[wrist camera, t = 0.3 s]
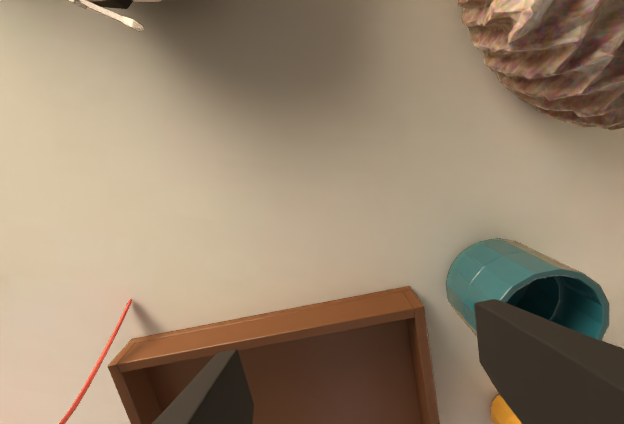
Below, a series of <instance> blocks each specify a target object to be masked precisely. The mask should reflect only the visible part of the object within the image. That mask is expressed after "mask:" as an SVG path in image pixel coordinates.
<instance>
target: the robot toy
mask: <svg viewBox="0 0 624 424" xmlns="http://www.w3.org/2000/svg"><path fill="white" fill-rule="evenodd" d="M69 1H71V2H72V3H74V4H76V5H78V6H80V7H82V8H85V9H86V8H87V7H88V8H91V9H93V10H95V11H97V12H100V13H102V14H104V15H106V16H109V17H111V18H113V19H115V20H118V21H120V22H122V23H124V24H125V25H127V26H129V27H131V28H133V29H135V30H137V31H139V32H140V31H142V30H143V29H144V28H143V26H142V25H141V24H139V23H138V22H136V21H134V20H132V19H130V18H128V17H126V16H124V17H123V16H120V15H118V14H116V13H114V12H111V11H109V10H107V9H104V8H102V7H109V8H121V9H127V8H128V7H129V6H130V5H131V4H132V2H133V1H139V2H160V1H161V0H69Z"/></svg>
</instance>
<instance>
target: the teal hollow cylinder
mask: <svg viewBox="0 0 624 424" xmlns="http://www.w3.org/2000/svg"><path fill="white" fill-rule="evenodd" d="M446 289H447V298H448V301H449V302H450V304H451V306H452V307H453V309H454V310H455V312H456V313H457V314H458V315H459V317H460V318H461V319H462V320H463V321H464V322H465V324H466V325H467V326H468V327H469V328H470V329H471V330H472V332H473V333H474V334H475V335H476V336H477V329H476V319H475V309H474V303H476V302H481V301H487V300H492V299H496V300H499V301H502V302H505V303H508V304H510V305H513V306H515V307H518V308H520V309H523V310H525V311H528V312H530V313H532V314H535V315H537V316H540V317H542V318H545V319H547V320H550V321H552V322H554V323H557V324H559V325H562V326H564V327H567V328H569V329H572V330H574V331H577V332H580V333H582V334H585V335H587V336H590V337H593V338H595V339H598V340H601V341H602V339H603V337H604V335H605V333H606V330H607V328H608V326H609V302H608V300H607V298H606V296H605V294H604V292H603V290H602V288H601V286H600V285H599V284H597V283H596V282H595V281H593V280H592V279H590V278H589V277H588V276H586V275H585V274H583V273H582V272H579V271H577V270H575V269H573V268H571V267H569V266H567V265H565V264H563V263H561V262H558V261H556V260H554V259H552V258H550V257H548V256H546V255H544V254H541V253H539V252H537V251H535V250H533V249H531V248H529V247H527V246H525V245H523V244H520V243H518V242H516V241H512V240H507V239H501V238H496V239H491V240H486V241H480V242H478V243H476V244H474V245H472V246H470V247H468V248H467V249H465V250H464V251H463V252H462V253H461V254H460V255H459V256H458V257H457V258H456V259H455V261H454V262H453V264H452V266H451V267H450V270H449V273H448V277H447V281H446Z"/></svg>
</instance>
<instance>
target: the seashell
mask: <svg viewBox="0 0 624 424" xmlns="http://www.w3.org/2000/svg"><path fill="white" fill-rule="evenodd" d="M458 5H459V6H462V7H464V8H463V15H462V22H463V23H464V25H465V26H466V27H469V28H470V37H471V40H472V42H473V45H474V46H475V47H477V48H478V49H481V50H482V53H483V57H484V63H485V64H486V65H487V66H488V67H489V68H490V69H491V70H492V71H495V73H496V75H497V77H498V79H499V81H500V82H501V83H502V84H503V85H504V86H506V87H507V88H508V89H510V90H513V91H514V93H515V95H516V96H517V97H518V98H520V99H521V100H523V101H525V102H527V103H530V104H532V105H534V106H535V108H536V109H537V110H538V111H540V112H542V113H544V114H545V115H548V116H550V117H553V118H556V119H559V120H562V121H565V122H568V123H571V124H574V125H577V126H581V127H601V128H605V129H609V130H615V129H619V128H624V0H459V1H458Z"/></svg>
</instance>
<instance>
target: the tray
mask: <svg viewBox="0 0 624 424" xmlns="http://www.w3.org/2000/svg"><path fill="white" fill-rule="evenodd" d="M234 349H238V353H239V356H240V359H241V363H242V366H243V369H244V373H245V376H246V379H247V383H248V386H249V389H250V392H251V396H252V399H253V402H254V411H253V422H252V424H440V423H439V415H438V407H437V400H436V392H435V385H434V377H433V370H432V362H431V354H430V347H429V339H428V332H427V324H426V317H425V309H424V306H423V304H422V303H421V301H420V300H419V299H418V297H417V296H416V294H415V293H414V292H413V290H412V289H411V287H410V286H407V287H402V288H397V289H391V290H386V291H381V292H376V293H370V294H365V295H360V296H355V297H349V298H344V299H339V300H334V301H328V302H323V303H318V304H313V305H307V306H302V307H297V308H292V309H286V310H281V311H276V312H271V313H265V314H260V315H255V316H250V317H244V318H239V319H234V320H229V321H224V322H218V323H213V324H208V325H203V326H197V327H192V328H187V329H182V330H176V331H171V332H166V333H161V334H155V335H150V336H145V337H140V338H134V339H131V340H130V341H129V343H128V344H127V345H126V346H125V347H124V348H123V349H122V350H121V352H120V353H119V354H118V355H117V356H116V357H115V358H114V359H113V361H112V362H111V363H110V364H109V365H108V368H109V371H110V373H111V376H112V378H113V381H114V383H115V386H116V388H117V390H118V393H119V395H120V398H121V400H122V403H123V405H124V408H125V410H126V413H127V415H128V417H129V420H130V422H131V424H152V423H153V422H154V421H155V420H156V419H157V418H158V416H159V415H160V414H161V413H162V412H163V411H164V410H165V409H166V408H167V407H168V406H169V405H170V404H171V403H172V402H173V401H174V400H175V398H176V397H177V396H178V395H179V394H180V393H181V392H182V391H183V390H184V389H185V388H186V386H187V385H188V384H189V383H190V382H191V381H192V380H193V379H194V378H195V377H196V375H197V374H198V373H199V372H200V371H201V370H202V369H203V368H204V367H205V366H206V364H207V363H208V362H209V361H210V360H211V359H212V358H213V357H214V356H215V355H216V354H217V353H219V352H224V351H229V350H234Z"/></svg>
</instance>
